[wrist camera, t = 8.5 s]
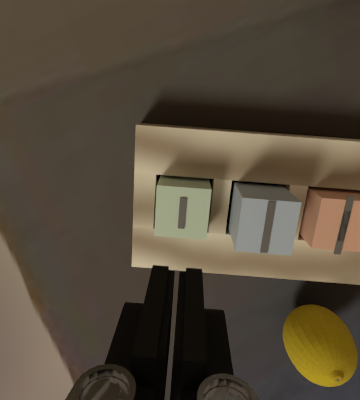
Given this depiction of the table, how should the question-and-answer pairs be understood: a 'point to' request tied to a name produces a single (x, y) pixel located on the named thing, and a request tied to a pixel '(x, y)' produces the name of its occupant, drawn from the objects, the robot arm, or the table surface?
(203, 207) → the key sage
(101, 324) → the table surface
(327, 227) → the key terracotta
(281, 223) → the key slate
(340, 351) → the lemon
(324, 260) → the keypad board
